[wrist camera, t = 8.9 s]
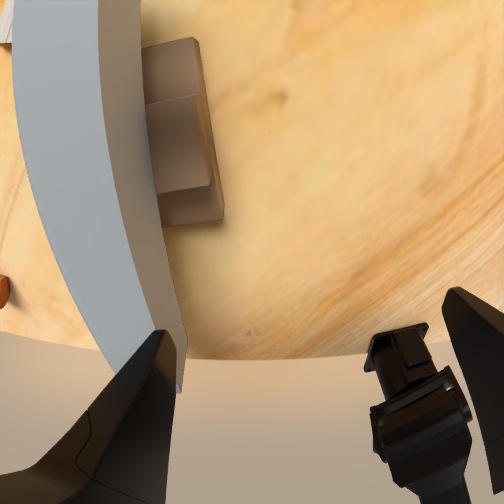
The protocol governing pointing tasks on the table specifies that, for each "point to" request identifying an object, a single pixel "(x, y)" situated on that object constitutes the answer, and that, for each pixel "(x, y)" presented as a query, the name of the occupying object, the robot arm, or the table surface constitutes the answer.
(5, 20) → the baseboard molding
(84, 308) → the slate stick
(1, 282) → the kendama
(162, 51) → the ridge block
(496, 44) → the table surface
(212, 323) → the table surface
